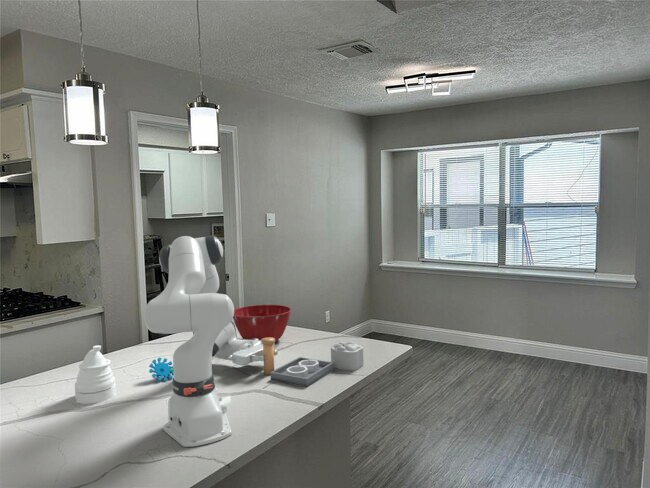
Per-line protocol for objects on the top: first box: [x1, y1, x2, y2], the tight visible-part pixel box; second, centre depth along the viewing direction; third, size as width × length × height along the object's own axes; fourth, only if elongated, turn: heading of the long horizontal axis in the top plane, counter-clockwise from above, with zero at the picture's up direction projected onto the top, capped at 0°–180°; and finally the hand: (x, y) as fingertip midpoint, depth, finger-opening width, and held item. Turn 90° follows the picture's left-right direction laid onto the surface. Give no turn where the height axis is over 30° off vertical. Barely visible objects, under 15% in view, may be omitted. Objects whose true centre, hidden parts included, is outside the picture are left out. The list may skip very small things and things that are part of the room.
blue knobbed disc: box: [148, 357, 174, 382], centre depth 184 cm, size 11×6×10 cm
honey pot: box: [74, 344, 117, 405], centre depth 167 cm, size 13×13×18 cm
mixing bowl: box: [232, 304, 292, 343], centre depth 230 cm, size 28×28×16 cm
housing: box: [269, 356, 335, 388], centre depth 183 cm, size 16×20×4 cm
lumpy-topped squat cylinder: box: [330, 341, 365, 371], centre depth 193 cm, size 10×13×9 cm
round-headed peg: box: [261, 337, 276, 376], centre depth 186 cm, size 5×5×13 cm
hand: (270, 355), depth 185 cm, fingers open, 7 cm apart
